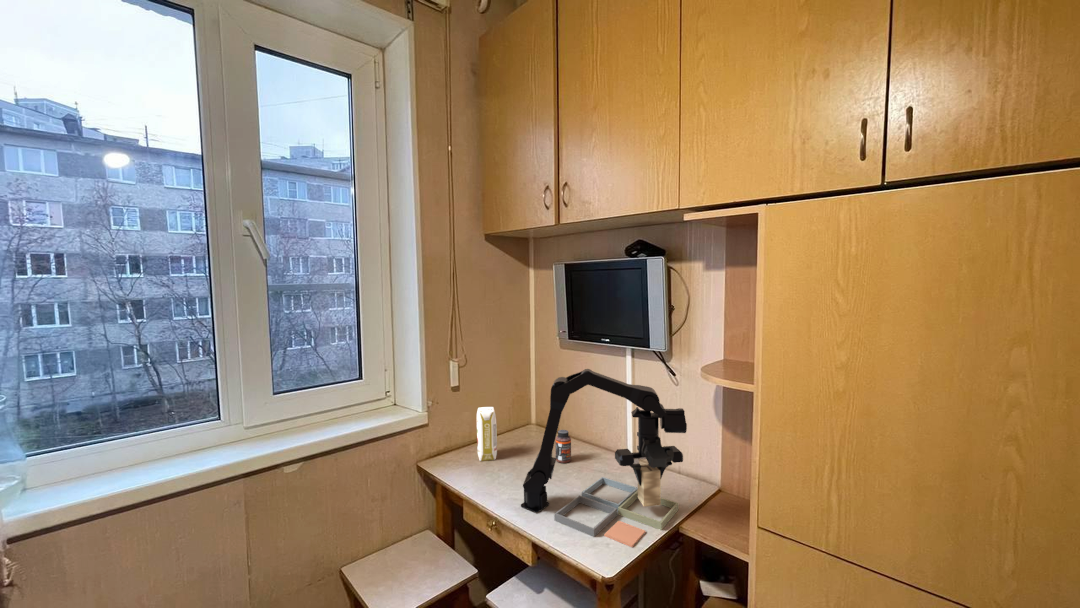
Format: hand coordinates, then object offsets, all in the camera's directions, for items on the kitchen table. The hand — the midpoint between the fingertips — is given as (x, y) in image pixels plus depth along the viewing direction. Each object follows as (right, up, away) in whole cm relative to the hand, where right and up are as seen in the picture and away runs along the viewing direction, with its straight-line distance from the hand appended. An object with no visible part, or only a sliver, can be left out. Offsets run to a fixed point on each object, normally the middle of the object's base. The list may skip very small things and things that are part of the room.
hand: (648, 484), depth 121 cm
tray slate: (-10, -8, +10) cm, 16 cm away
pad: (-9, -9, -10) cm, 16 cm away
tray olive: (0, -8, 0) cm, 8 cm away
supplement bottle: (-23, -7, +38) cm, 45 cm away
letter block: (0, -5, 0) cm, 5 cm away
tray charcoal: (-19, -9, -2) cm, 21 cm away
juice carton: (-53, -8, +42) cm, 68 cm away
